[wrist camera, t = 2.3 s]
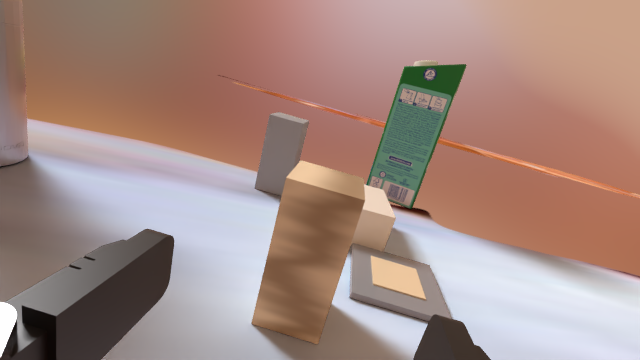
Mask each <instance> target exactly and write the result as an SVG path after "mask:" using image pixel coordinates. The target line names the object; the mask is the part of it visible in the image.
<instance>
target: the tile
mask: <svg viewBox="0 0 640 360" xmlns="http://www.w3.org/2000/svg"><path fill="white" fill-rule="evenodd" d="M350 298H353V299H356V300H359V301H363V302H366V303H369V304H372V305H376V306H379V307H382V308H386V309H389V310H392V311H396V312H399V313H402V314H406V315H409V316H412V317H416V318H419V319H422V320H425V321H430V319H431V317H432V316H433V315H434V314H437V315H440V316H444V317H447V318H450V319H452V318H451V316H450V313H449V311H448V309H447V306H446V304H445V301H444V299H443V297H442V294H441V292H440V289H439V287H438V285H437V282H436V280H435V277H434V275H433V273H432V270H431V268H430V265H427V264H423V263H420V262H417V261H413V260H410V259H406V258H403V257H400V256H396V255H393V254H389V253H386V252H383V251H379V250H376V249H372V248H369V247H366V246H362V245H359V244H355V243H353V245H352V251H351V276H350Z"/></svg>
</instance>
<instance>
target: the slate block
mask: <svg viewBox="0 0 640 360" xmlns="http://www.w3.org/2000/svg"><path fill="white" fill-rule="evenodd" d="M308 123H309V121H308V120H305V119H301V118H297V117H294V116H290V115H287V114H283V113H279V112H278V113H274V114H270V116H269V121H268V126H267V131H266V136H265V141H264V146H263V150H262V155H261V160H260V165H259V170H258V175H257V180H256V184H255V189H259V190H262V191H265V192H269V193H272V194H276V195H279V196H282V193H283V189H284V184H285V180H286V177H287V176H288V175H289V174H290V172H291V171H292V170H293V169H294V168H295V167H296V165H297V164H298V163H299V160H300V155H301V152H302V148H303V144H304V140H305V136H306V131H307V128H308Z"/></svg>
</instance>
